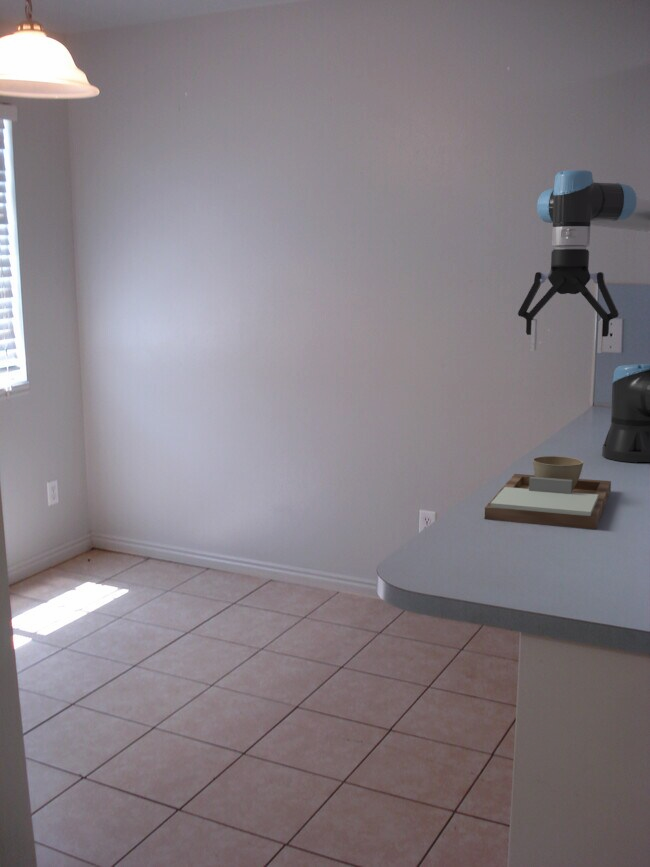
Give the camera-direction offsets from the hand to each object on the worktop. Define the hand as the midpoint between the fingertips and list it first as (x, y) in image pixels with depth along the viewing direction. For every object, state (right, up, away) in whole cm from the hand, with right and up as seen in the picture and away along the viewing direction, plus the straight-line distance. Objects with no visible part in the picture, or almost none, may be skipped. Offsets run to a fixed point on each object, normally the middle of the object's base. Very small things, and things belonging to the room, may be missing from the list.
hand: (566, 351), depth 198 cm
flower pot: (-3, -30, -5) cm, 30 cm away
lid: (-9, -30, -19) cm, 37 cm away
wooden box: (-6, -31, -11) cm, 34 cm away
